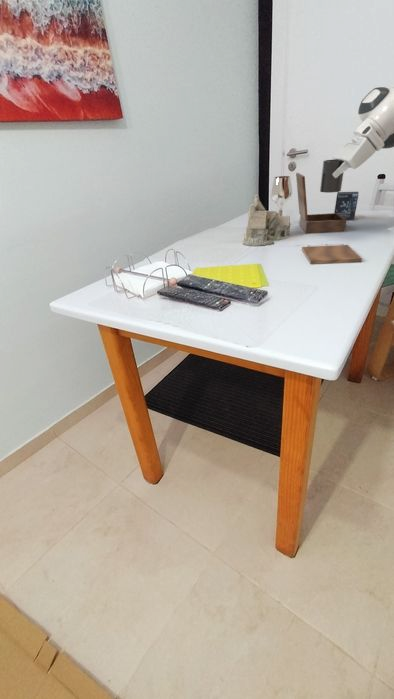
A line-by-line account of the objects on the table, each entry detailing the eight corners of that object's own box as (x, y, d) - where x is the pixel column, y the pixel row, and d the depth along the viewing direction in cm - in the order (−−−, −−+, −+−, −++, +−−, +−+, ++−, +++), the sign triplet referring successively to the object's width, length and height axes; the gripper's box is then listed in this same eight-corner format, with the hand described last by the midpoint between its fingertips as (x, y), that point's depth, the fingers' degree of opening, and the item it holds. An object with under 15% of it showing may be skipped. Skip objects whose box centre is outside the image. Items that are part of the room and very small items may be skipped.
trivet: (347, 247, 106) (347, 244, 106) (361, 262, 95) (362, 258, 94) (301, 250, 108) (301, 246, 107) (310, 264, 96) (310, 260, 96)
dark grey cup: (337, 189, 115) (342, 158, 110) (343, 191, 109) (347, 160, 104) (318, 190, 115) (321, 160, 111) (322, 193, 110) (326, 161, 105)
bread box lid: (298, 172, 122) (295, 173, 122) (304, 176, 111) (302, 176, 111) (301, 213, 129) (299, 214, 129) (307, 220, 119) (305, 221, 119)
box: (332, 222, 136) (336, 193, 130) (333, 219, 140) (337, 191, 134) (353, 222, 133) (358, 193, 127) (353, 219, 137) (358, 191, 132)
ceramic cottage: (237, 244, 117) (240, 197, 110) (251, 234, 130) (255, 192, 122) (281, 250, 112) (288, 201, 104) (292, 239, 124) (299, 194, 116)
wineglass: (279, 230, 131) (282, 178, 122) (264, 227, 137) (266, 177, 128) (294, 226, 135) (298, 176, 125) (279, 223, 141) (282, 175, 131)
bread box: (335, 226, 131) (336, 212, 128) (344, 234, 120) (346, 220, 117) (299, 227, 132) (300, 215, 129) (305, 236, 121) (306, 222, 119)
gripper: (351, 129, 111) (317, 165, 117) (373, 128, 94) (332, 170, 100) (363, 144, 113) (328, 178, 119) (386, 146, 96) (345, 186, 102)
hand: (330, 175), depth 110 cm, fingers closed on dark grey cup, 6 cm apart
